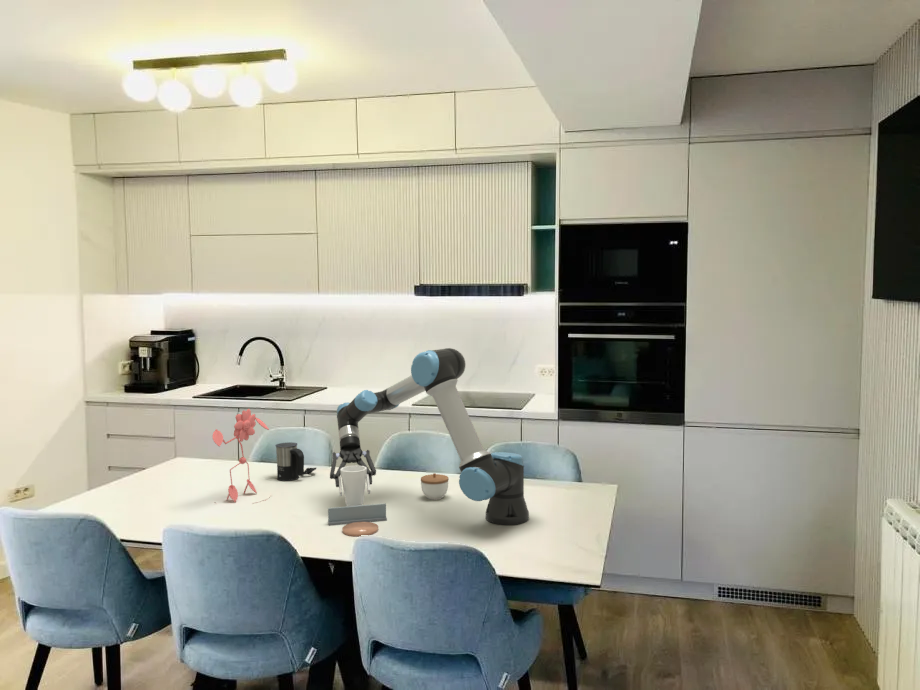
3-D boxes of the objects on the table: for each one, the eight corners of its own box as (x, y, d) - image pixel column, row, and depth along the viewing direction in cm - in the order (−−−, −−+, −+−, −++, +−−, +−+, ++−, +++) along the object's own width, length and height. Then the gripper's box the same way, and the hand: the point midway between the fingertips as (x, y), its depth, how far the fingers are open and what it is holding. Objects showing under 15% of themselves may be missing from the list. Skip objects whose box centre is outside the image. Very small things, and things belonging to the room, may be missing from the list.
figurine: (208, 505, 284) (206, 413, 280) (256, 488, 307) (255, 403, 303) (239, 511, 277) (237, 417, 273) (286, 493, 300) (284, 406, 296)
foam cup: (355, 498, 279) (354, 464, 278) (373, 503, 273) (372, 467, 272) (336, 504, 272) (334, 469, 270) (353, 509, 266) (352, 473, 265)
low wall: (385, 516, 267) (384, 502, 267) (386, 520, 263) (386, 505, 263) (328, 521, 262) (327, 506, 262) (328, 525, 259) (328, 510, 258)
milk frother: (272, 480, 318) (271, 446, 317) (291, 471, 333) (290, 438, 332) (302, 482, 314) (301, 447, 312) (320, 473, 329) (319, 440, 327)
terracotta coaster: (385, 529, 254) (385, 526, 254) (360, 538, 245) (360, 535, 245) (360, 522, 261) (360, 519, 261) (334, 531, 252) (334, 528, 252)
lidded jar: (415, 499, 288) (415, 475, 287) (429, 492, 297) (429, 468, 297) (440, 503, 283) (439, 478, 282) (453, 495, 292) (453, 471, 292)
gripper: (378, 443, 288) (384, 495, 274) (319, 448, 283) (323, 501, 269) (379, 432, 283) (386, 485, 268) (319, 436, 278) (323, 490, 264)
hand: (355, 493), depth 269 cm, fingers closed on foam cup, 9 cm apart
